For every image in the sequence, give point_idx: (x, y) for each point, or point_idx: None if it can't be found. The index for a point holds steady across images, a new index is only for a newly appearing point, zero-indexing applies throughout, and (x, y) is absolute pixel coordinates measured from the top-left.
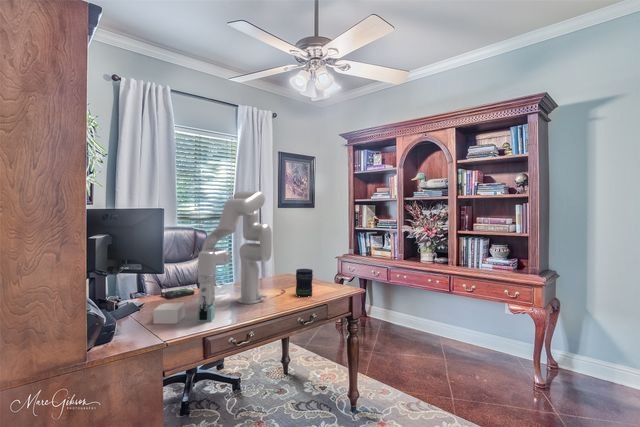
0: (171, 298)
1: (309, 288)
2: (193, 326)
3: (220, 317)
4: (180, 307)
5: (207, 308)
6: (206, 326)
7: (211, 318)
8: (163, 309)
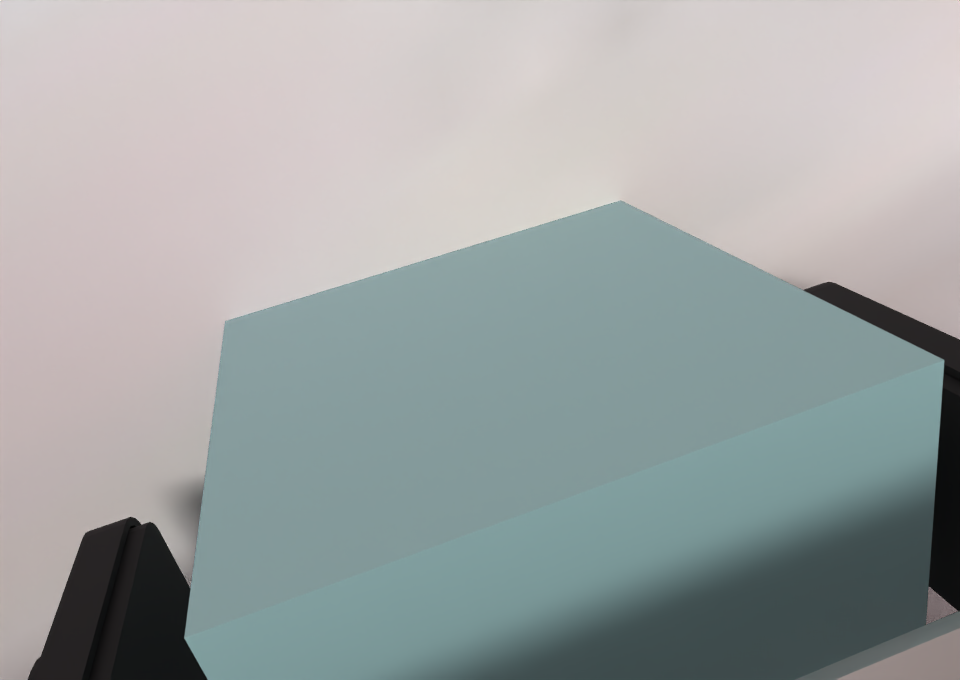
0: None
1: None
2: None
3: (132, 135)
4: None
5: (906, 541)
6: (944, 135)
7: (647, 230)
8: None
